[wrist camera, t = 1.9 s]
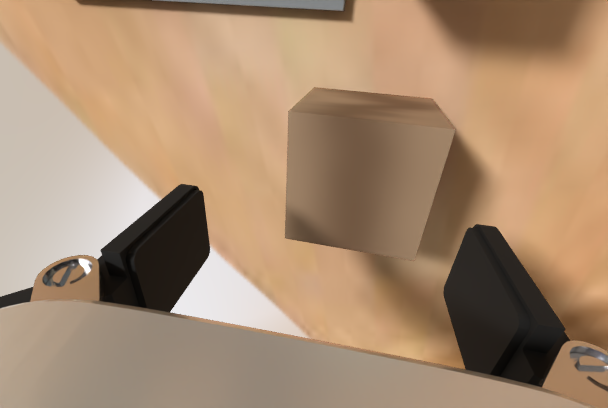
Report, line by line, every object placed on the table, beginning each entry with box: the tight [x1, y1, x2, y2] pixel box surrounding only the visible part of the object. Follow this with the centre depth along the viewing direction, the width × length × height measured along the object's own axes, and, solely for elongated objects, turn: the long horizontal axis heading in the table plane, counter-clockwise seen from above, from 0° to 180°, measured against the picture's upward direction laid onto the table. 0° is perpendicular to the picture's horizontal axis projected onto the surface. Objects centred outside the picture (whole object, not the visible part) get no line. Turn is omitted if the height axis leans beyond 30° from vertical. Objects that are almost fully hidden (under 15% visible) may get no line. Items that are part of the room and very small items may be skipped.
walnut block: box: [285, 87, 456, 261], centre depth 16 cm, size 6×6×6 cm
